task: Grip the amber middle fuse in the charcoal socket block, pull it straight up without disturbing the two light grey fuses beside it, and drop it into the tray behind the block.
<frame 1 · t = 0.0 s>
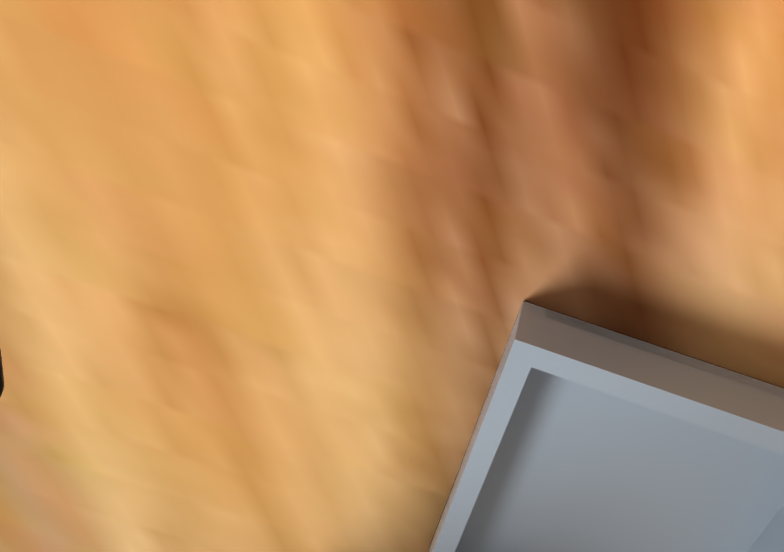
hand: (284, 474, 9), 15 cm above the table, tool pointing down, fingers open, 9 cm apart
tray: (613, 492, 26), on the table
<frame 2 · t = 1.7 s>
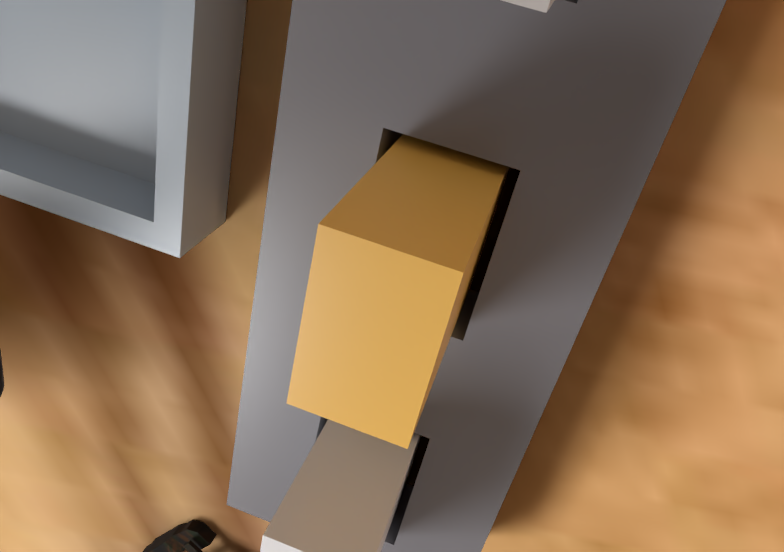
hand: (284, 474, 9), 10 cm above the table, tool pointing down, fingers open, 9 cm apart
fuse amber: (448, 201, 18), resting in fuse holder
fuse holder: (447, 201, 18), on the table
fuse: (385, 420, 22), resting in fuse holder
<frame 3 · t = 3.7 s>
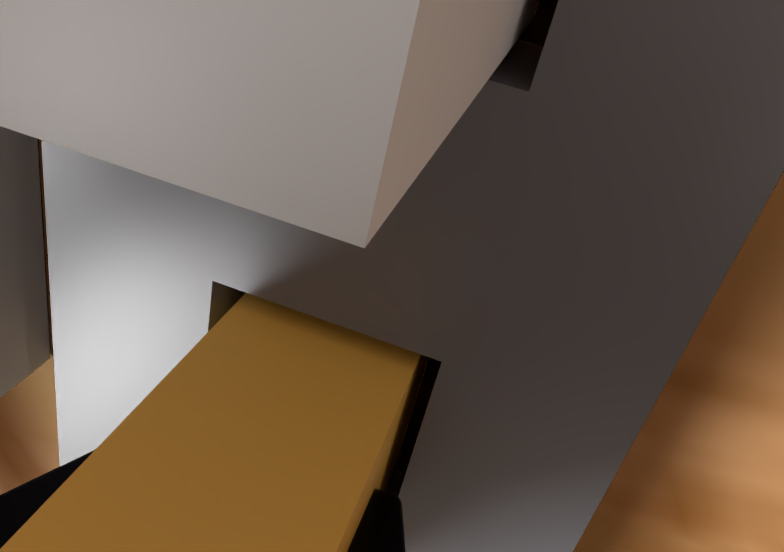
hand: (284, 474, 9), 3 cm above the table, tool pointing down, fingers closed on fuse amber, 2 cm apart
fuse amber: (355, 352, 12), resting in fuse holder, touching gripper
fuse holder: (354, 352, 12), on the table
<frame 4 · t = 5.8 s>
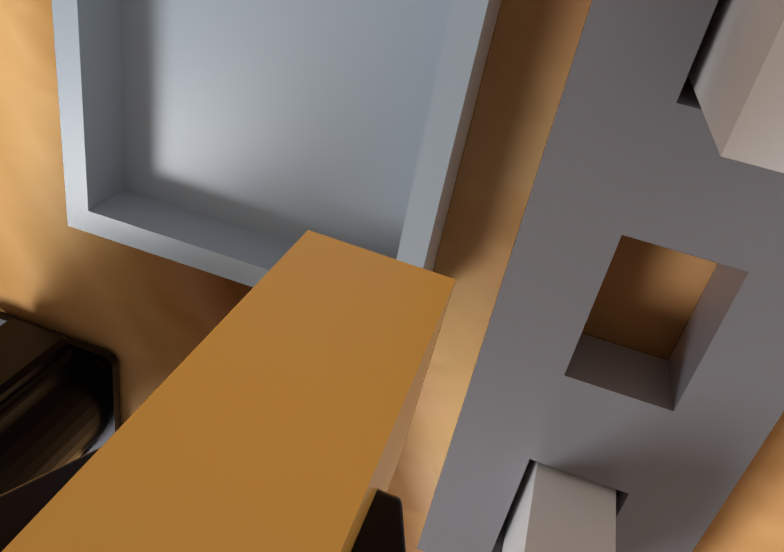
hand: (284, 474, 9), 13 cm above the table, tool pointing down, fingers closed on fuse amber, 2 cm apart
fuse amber: (357, 351, 12), point 10 cm above the table, touching gripper
fuse holder: (646, 283, 20), on the table
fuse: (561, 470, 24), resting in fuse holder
tray: (285, 44, 20), on the table
when the fingers open (5 cm above the table, at t = 8.3 s): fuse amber drops 1 cm, resting on tray.
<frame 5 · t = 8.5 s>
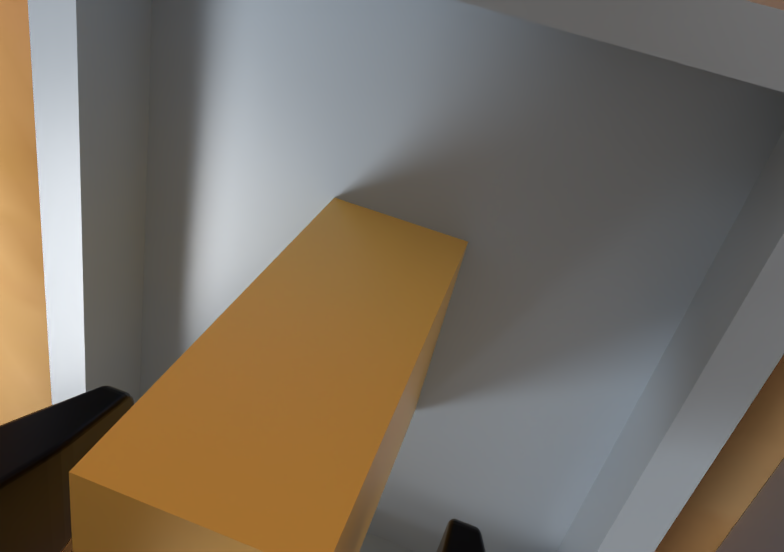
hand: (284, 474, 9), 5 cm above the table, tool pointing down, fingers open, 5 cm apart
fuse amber: (377, 310, 13), point 1 cm above the table, touching tray
tray: (387, 297, 14), on the table
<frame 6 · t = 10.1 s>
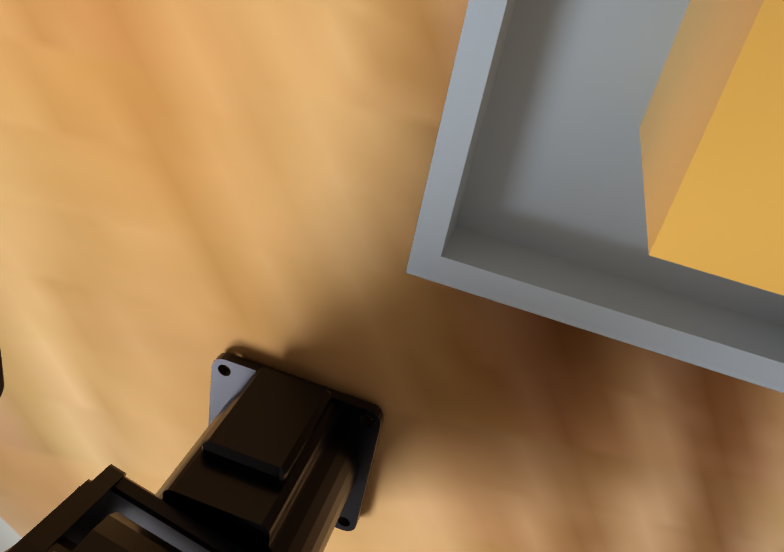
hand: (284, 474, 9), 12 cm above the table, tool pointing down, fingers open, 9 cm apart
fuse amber: (727, 59, 15), point 1 cm above the table, touching tray
tray: (725, 54, 16), on the table
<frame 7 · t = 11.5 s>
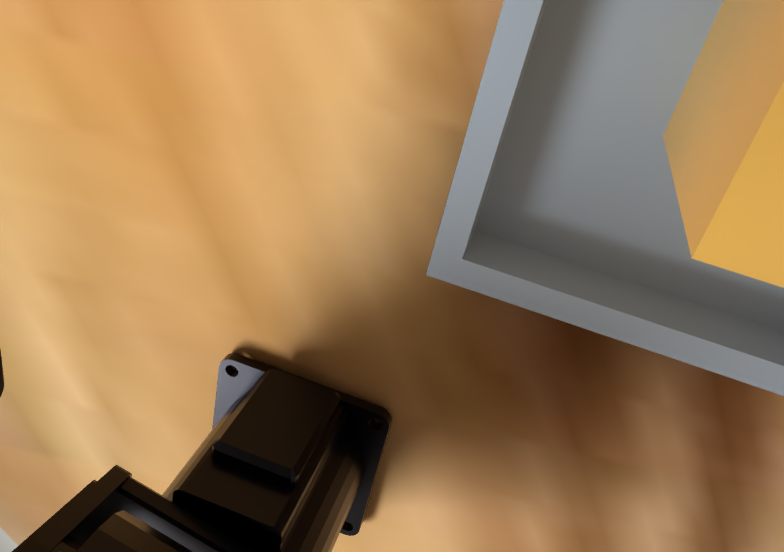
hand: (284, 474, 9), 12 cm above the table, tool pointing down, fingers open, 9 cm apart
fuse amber: (753, 70, 16), point 1 cm above the table, touching tray
tray: (749, 66, 16), on the table
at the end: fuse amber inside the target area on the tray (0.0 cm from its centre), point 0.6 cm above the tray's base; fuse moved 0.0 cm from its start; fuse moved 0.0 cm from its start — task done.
